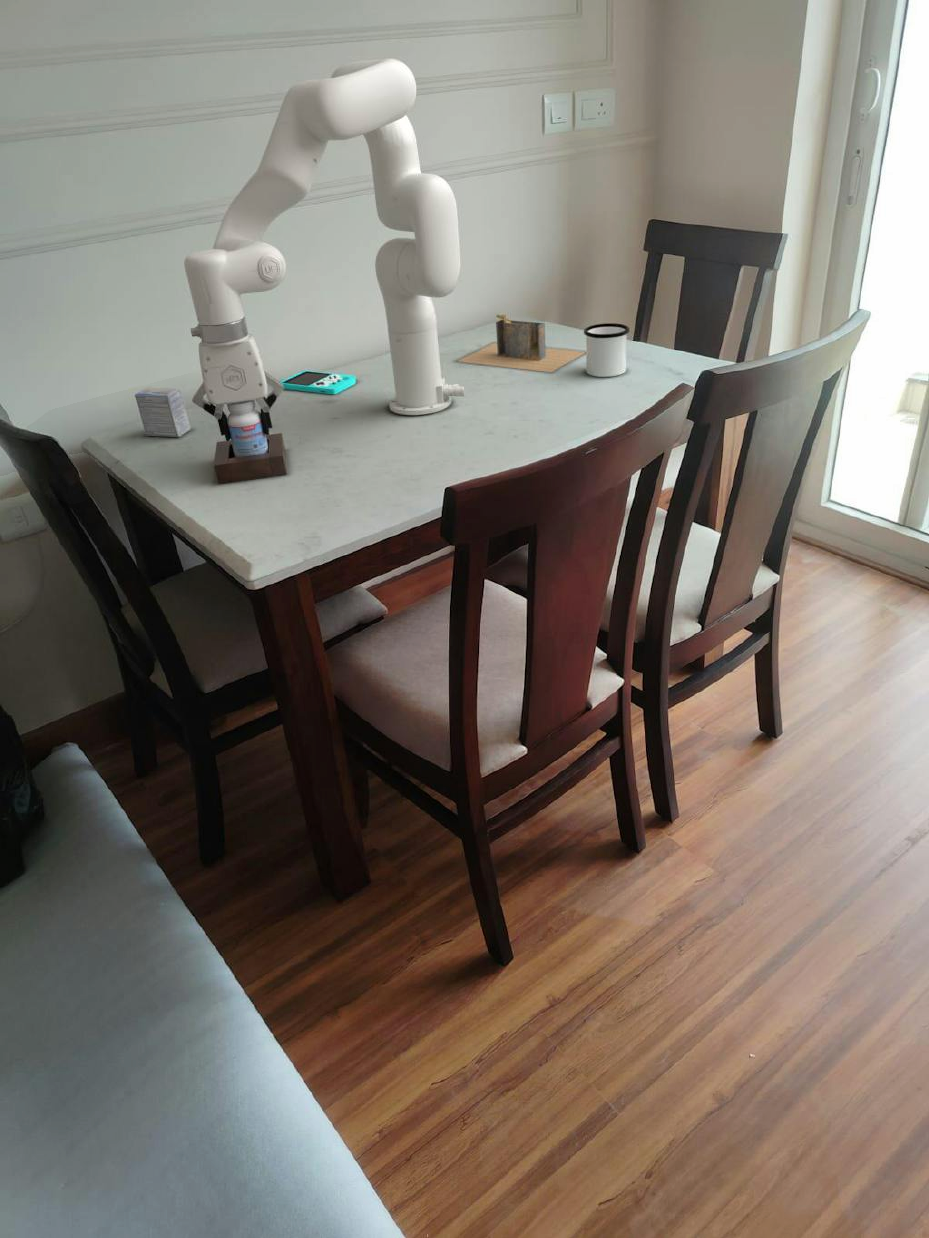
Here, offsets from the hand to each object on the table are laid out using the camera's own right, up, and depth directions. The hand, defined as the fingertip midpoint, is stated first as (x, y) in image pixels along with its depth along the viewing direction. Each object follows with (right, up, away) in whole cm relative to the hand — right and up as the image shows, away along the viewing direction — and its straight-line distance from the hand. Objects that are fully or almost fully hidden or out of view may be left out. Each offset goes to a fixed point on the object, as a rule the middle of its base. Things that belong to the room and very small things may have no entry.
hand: (247, 434), depth 155 cm
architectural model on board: (+51, +28, +49) cm, 76 cm away
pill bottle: (0, -4, +3) cm, 5 cm away
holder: (0, -5, +3) cm, 6 cm away
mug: (+69, +21, +35) cm, 80 cm away
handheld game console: (+5, +20, +42) cm, 47 cm away
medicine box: (-21, +5, +22) cm, 31 cm away
